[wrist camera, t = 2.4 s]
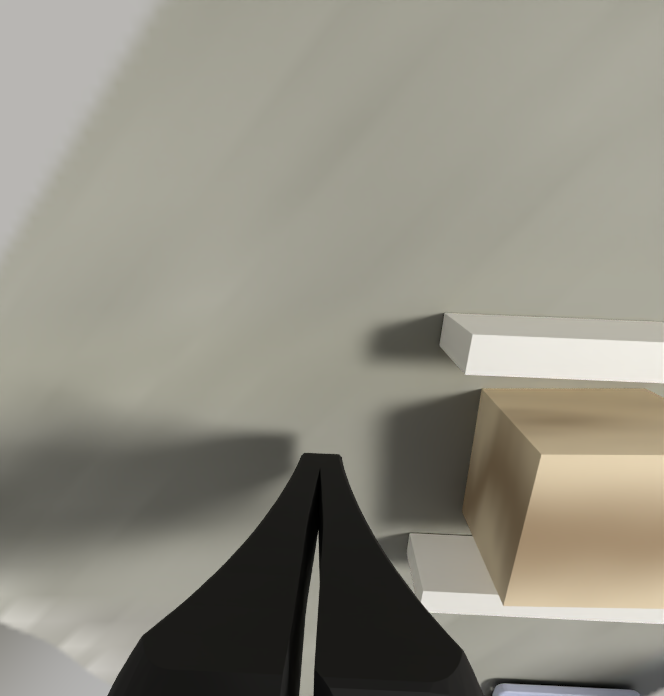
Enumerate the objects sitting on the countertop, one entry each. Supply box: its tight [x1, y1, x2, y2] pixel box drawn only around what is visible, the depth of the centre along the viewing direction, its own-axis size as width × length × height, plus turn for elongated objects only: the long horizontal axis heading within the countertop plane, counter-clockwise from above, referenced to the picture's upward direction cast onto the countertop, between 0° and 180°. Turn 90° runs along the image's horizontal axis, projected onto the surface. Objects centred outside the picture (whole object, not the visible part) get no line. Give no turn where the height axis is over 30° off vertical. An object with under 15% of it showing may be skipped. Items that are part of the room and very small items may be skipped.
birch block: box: [462, 389, 664, 609], centre depth 11 cm, size 6×6×4 cm
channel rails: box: [407, 313, 664, 624], centre depth 12 cm, size 11×16×2 cm
